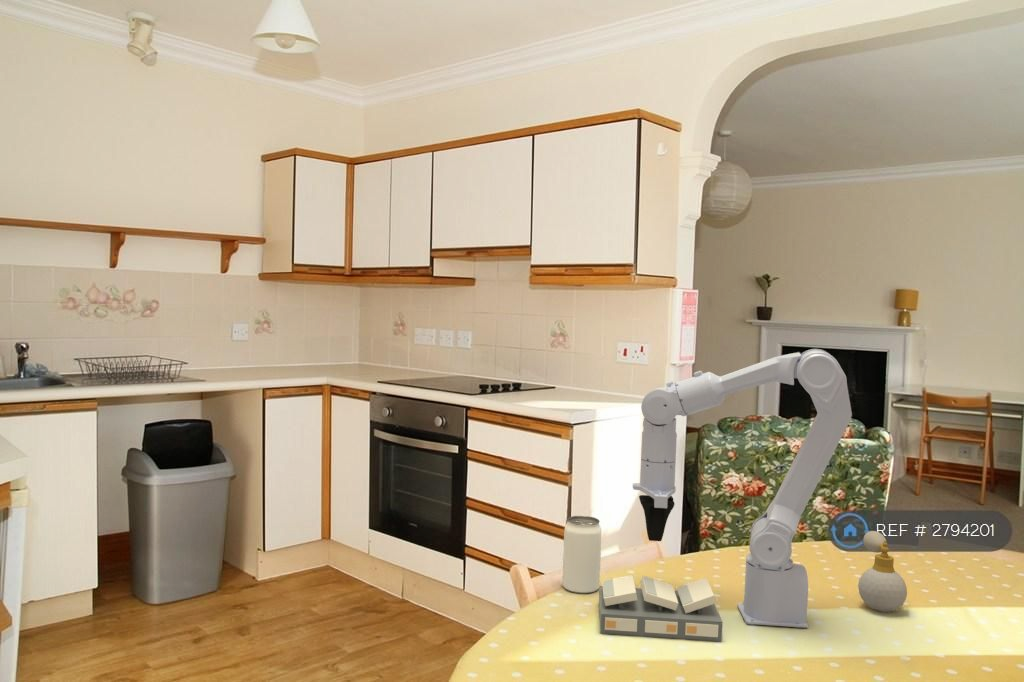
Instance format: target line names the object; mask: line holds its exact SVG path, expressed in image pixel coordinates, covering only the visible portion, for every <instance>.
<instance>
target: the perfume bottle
mask: <svg viewBox="0 0 1024 682" xmlns="http://www.w3.org/2000/svg"><path fill="white" fill-rule="evenodd" d="M862 540H863V545H864V546H865V547H866V549H868V550H869V551H870V552H873V553H876V554H875V555H874V563H873V565H872V567H869V568H867V569H866V570H865V571H863V573H862V574H861V576H860V577H859V579H858V585H857V587H858V588H857V589H858V593H859V596H860V598H861V600H862V601H863V602H864V604H865V605H866V606H867V607H869V608H870V609H872V610H874V609H875V611H877V610H878V611H877V612H882V611H883V612H884V613H890V612H891V613H892V612H894V611H898V610H899V609H900V608H901V607H902V606H903V605H904V603H905V601H906V600H907V597H908V596H907V595H908V590H907V589H908V588H907V585H906V582H905V580H904V578H903V577H902V576H901V574H900V573H898V572H897V571H896V570H895V568H894V564H895V563H894V560H895V558H894V557H893V556H891V555H889V554H888V553H889V551H890V549H889V547H888V543H887V542H888V541H887V539H886V537H885V536H884V535H883V534H882V533H881V532H879V531H876V530H870V531H868V532H866V533H865V534H864V536H863V539H862ZM877 553H879V554H877Z"/></svg>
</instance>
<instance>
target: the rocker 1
mask: <svg viewBox="0 0 1024 682" xmlns="http://www.w3.org/2000/svg"><path fill="white" fill-rule="evenodd" d="M602 586H603V595H604V602H605V606H608V605H614V604H619V603H625V602H630V601H635V600H637V594H636V589H635V588H636V584H635V579H634V575H633V574H631V575H625V576H619V577H618V576H617V577H614V578H607V579H603V580H602Z"/></svg>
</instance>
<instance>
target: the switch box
mask: <svg viewBox="0 0 1024 682" xmlns="http://www.w3.org/2000/svg"><path fill="white" fill-rule="evenodd" d="M635 589H636V594H637V600H635V601H630V602H625V603H619V604H614V605H608V606H605V602H604V595H603V585H599V588H598V611H599V629H600V634H603V633H604V635H605V634H606V635H618V636H619V635H620V636H635V637H647V638H648V637H650V638H652V637H653V638H664V639H677V640H678V639H681V640H692V641H694V640H695V641H705V642H706V641H707V642H723V641H722V639H723V620H722V618H721V615H720V612H719V610H718V609H717V606H716V603H715V604H712V605H709V606H706V607H703V608H700V609H698V610H695V611H692V612H689V613H685V610H684V608H683V605H682V602H681V599H680V596H679V593H678V590H674V591H675V594H676V597H677V601H678V606H677V609H676V610H673V609H669V608H666V607H663V606H660V605H657V604H653V603H650V602H647V601H644V597H643V592H642V588H636V587H635Z"/></svg>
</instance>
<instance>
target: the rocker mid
mask: <svg viewBox="0 0 1024 682" xmlns="http://www.w3.org/2000/svg"><path fill="white" fill-rule="evenodd" d="M640 587H641V588H640V589H642V592H643V597H644V601H647V602H650V603H653V604H657V605H660V606H663V607H666V608H669V609H673V610H676V609H677V606H678V601H677V597H676V594H675V591H676V590H675V589H674V586H673V584H671V583H668V582H665V581H662V580H658V579H655V578H652V577H648V576H645V575H642V576H641V580H640Z"/></svg>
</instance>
